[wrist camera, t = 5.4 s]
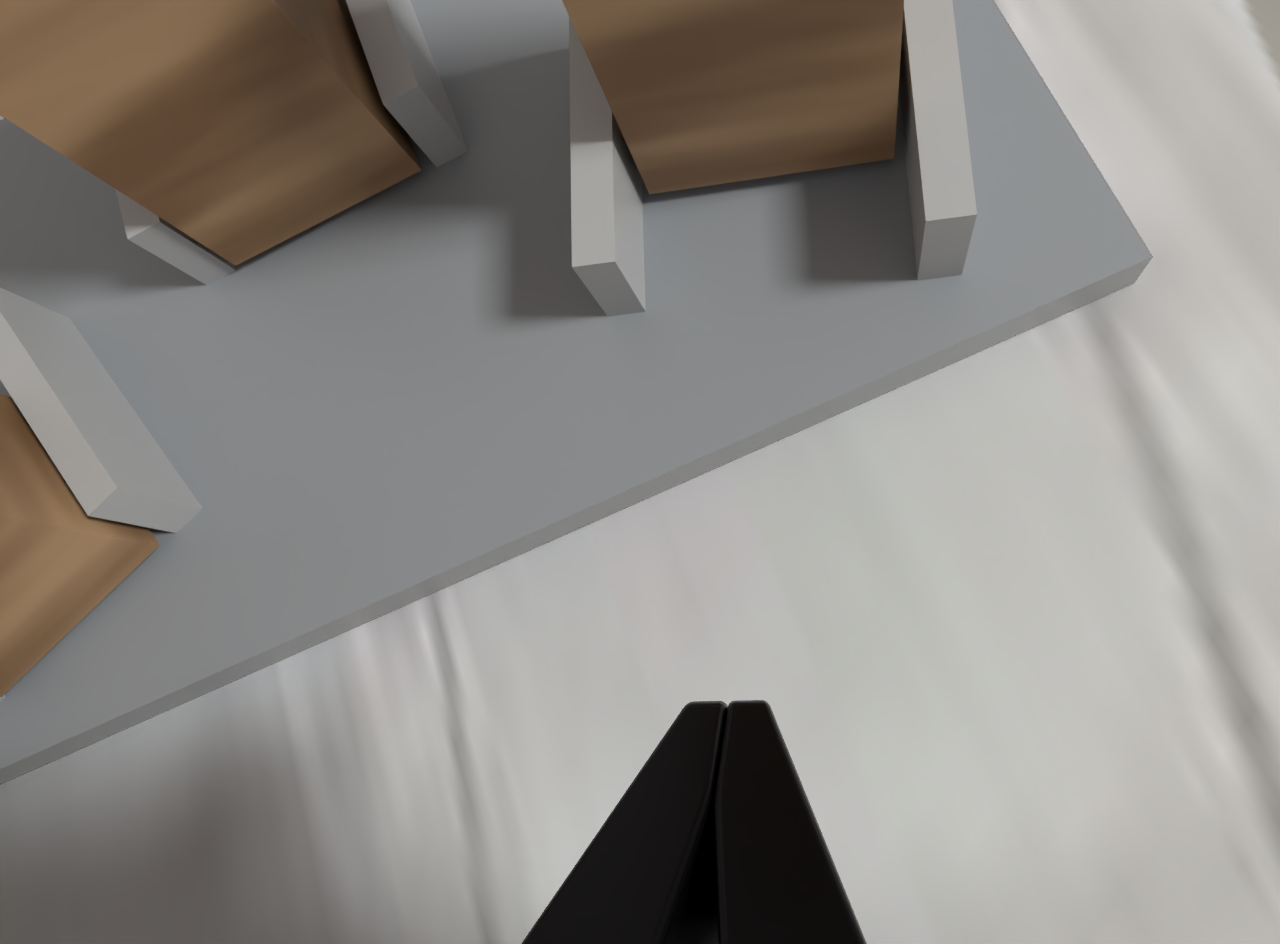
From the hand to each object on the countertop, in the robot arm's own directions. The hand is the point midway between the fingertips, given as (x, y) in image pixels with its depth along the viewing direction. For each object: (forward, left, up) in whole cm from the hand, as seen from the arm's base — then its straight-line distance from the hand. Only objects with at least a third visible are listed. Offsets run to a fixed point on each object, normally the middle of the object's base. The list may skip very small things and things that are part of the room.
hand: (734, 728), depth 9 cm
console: (+16, +7, -13) cm, 22 cm away
